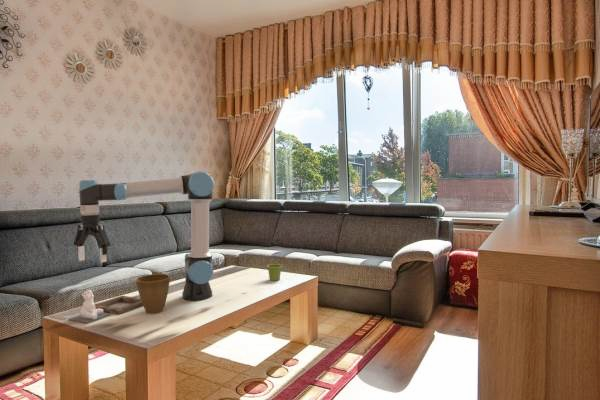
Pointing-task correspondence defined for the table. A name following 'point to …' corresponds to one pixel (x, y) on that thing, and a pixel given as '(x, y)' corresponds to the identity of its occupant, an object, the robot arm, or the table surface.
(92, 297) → the white creature statuette
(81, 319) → the slate mat
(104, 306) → the pocket frame
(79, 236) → the robot arm
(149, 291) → the plant pot
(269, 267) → the plant pot
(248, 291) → the table surface
